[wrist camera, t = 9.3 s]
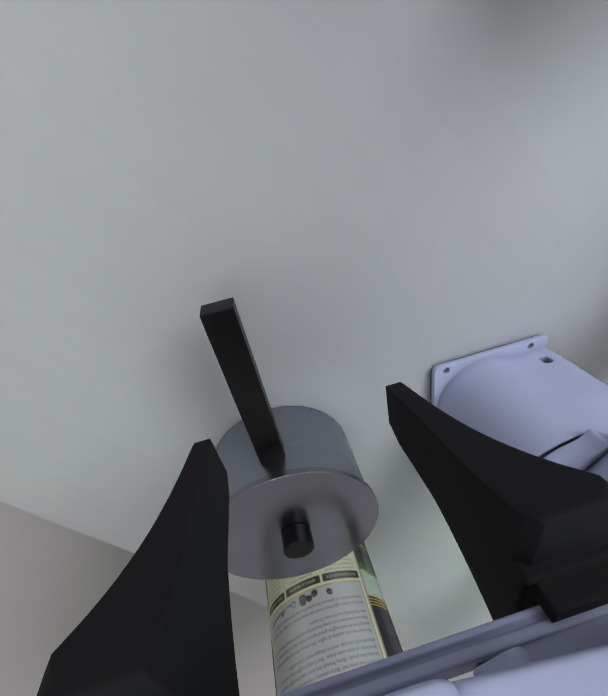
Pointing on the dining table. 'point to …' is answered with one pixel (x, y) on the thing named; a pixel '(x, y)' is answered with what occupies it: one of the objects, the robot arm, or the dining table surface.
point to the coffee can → (328, 622)
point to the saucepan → (283, 472)
